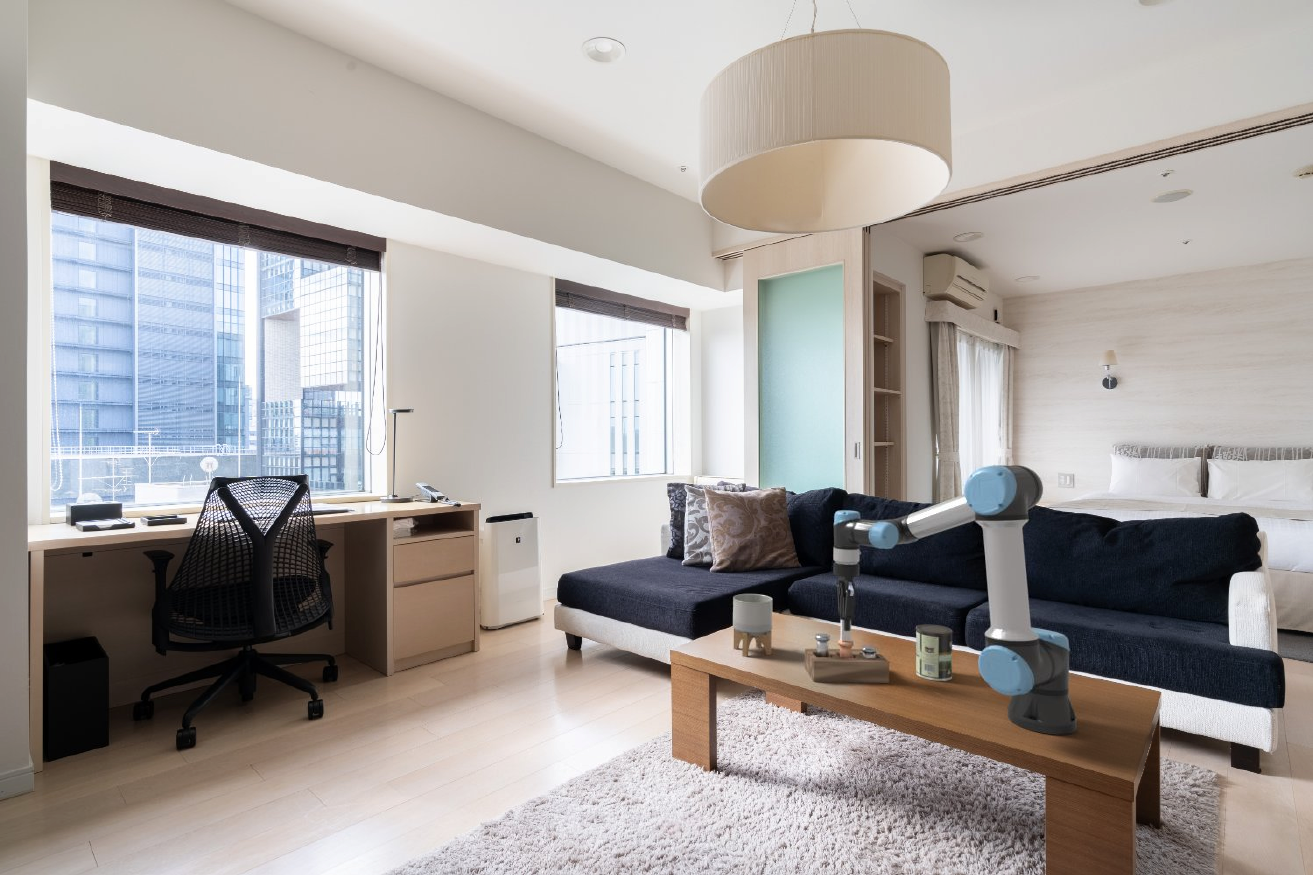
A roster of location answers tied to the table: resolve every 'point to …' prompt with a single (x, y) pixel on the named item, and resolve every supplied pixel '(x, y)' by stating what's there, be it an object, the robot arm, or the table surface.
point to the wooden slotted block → (846, 667)
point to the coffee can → (934, 652)
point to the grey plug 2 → (868, 651)
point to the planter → (752, 621)
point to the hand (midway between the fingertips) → (845, 640)
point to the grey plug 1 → (822, 644)
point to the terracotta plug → (845, 648)
